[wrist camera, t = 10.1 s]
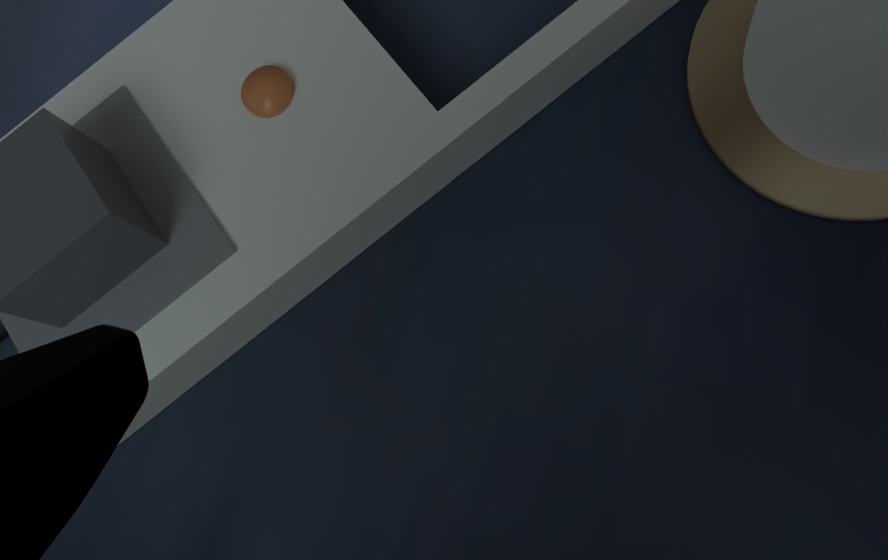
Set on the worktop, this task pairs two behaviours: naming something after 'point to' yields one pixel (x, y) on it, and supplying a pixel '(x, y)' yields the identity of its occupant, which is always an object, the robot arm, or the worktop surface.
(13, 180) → the block
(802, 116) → the can
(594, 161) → the worktop surface
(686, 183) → the worktop surface
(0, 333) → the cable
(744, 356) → the worktop surface
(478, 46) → the worktop surface
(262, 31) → the strip dock
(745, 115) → the cork coaster
